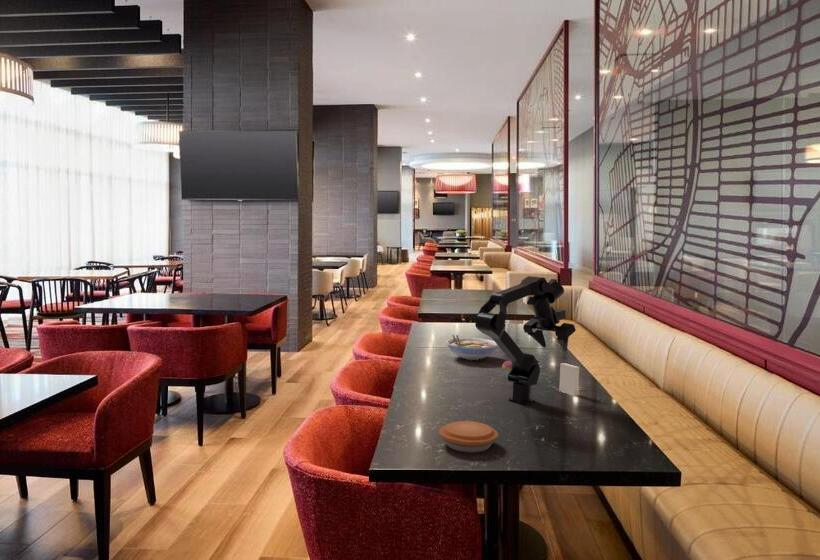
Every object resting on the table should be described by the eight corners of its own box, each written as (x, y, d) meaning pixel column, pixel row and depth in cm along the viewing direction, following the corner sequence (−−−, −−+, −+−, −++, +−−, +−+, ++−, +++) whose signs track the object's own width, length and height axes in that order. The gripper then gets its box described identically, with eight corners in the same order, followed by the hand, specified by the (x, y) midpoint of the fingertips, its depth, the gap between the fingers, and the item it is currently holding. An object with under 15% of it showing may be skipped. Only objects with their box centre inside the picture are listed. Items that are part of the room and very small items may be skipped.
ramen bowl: (501, 366, 256) (502, 346, 255) (446, 364, 256) (447, 345, 255) (494, 353, 280) (495, 336, 280) (444, 352, 281) (445, 334, 280)
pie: (492, 435, 170) (492, 418, 169) (502, 456, 154) (503, 437, 154) (436, 434, 169) (437, 417, 169) (441, 455, 154) (441, 436, 153)
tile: (573, 396, 212) (575, 367, 211) (559, 391, 218) (560, 363, 217) (578, 395, 213) (579, 367, 212) (563, 390, 219) (565, 362, 218)
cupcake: (525, 376, 238) (526, 346, 237) (523, 381, 230) (524, 350, 229) (503, 374, 241) (504, 344, 240) (500, 379, 232) (501, 348, 231)
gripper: (579, 301, 204) (590, 340, 209) (536, 296, 219) (548, 333, 224) (559, 317, 199) (571, 358, 204) (516, 312, 214) (529, 349, 219)
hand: (555, 349), depth 213 cm, fingers open, 9 cm apart
